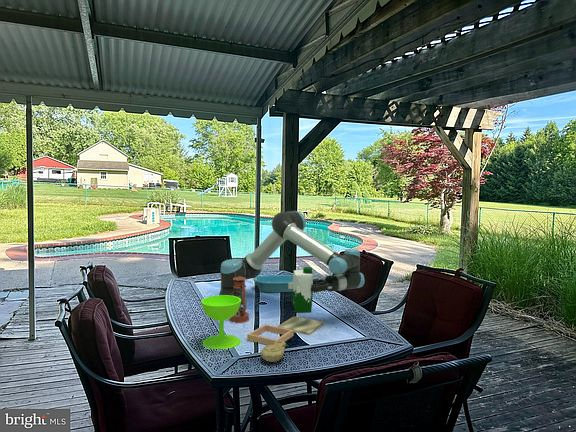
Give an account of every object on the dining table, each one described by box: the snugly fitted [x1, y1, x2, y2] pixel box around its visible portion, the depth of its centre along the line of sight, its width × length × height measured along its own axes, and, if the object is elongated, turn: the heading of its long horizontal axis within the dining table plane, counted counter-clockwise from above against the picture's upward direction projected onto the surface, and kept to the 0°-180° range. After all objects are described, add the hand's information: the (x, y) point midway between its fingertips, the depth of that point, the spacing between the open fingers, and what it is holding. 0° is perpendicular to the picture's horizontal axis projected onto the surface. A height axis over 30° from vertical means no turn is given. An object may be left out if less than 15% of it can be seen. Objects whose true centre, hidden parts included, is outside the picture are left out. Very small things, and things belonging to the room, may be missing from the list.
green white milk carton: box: [292, 266, 314, 314], centre depth 179 cm, size 9×9×20 cm
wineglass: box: [200, 294, 242, 349], centre depth 160 cm, size 16×16×18 cm
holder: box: [246, 323, 295, 346], centre depth 167 cm, size 14×14×2 cm
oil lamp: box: [260, 341, 287, 363], centre depth 148 cm, size 11×14×5 cm
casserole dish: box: [252, 274, 293, 293], centre depth 250 cm, size 37×22×7 cm, turn 98°
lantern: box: [229, 260, 250, 324], centre depth 189 cm, size 10×10×30 cm
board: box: [277, 316, 325, 336], centre depth 182 cm, size 16×16×1 cm
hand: (292, 287), depth 178 cm, fingers closed on green white milk carton, 7 cm apart
